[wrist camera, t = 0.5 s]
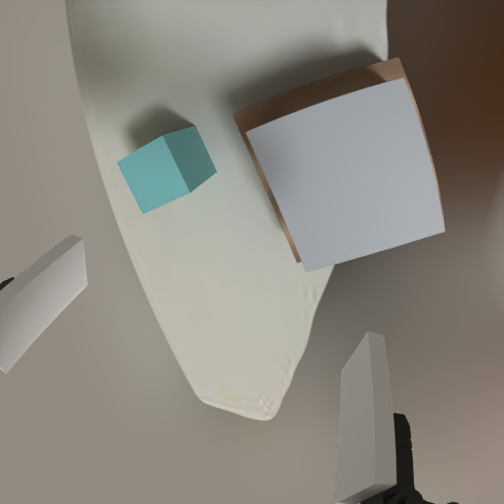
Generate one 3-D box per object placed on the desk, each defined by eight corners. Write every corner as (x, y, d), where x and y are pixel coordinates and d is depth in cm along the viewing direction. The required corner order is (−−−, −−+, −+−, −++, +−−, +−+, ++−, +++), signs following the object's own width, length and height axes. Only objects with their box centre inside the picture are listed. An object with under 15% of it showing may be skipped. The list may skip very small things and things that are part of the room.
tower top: (261, 125, 26) (245, 132, 21) (386, 81, 21) (404, 77, 16) (309, 240, 30) (306, 272, 25) (424, 205, 26) (444, 231, 21)
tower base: (247, 111, 31) (232, 114, 26) (385, 64, 25) (398, 57, 20) (301, 237, 37) (297, 262, 32) (427, 200, 31) (444, 219, 26)
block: (154, 147, 35) (117, 162, 28) (195, 125, 32) (162, 135, 26) (175, 190, 37) (143, 214, 30) (217, 171, 35) (190, 192, 28)
